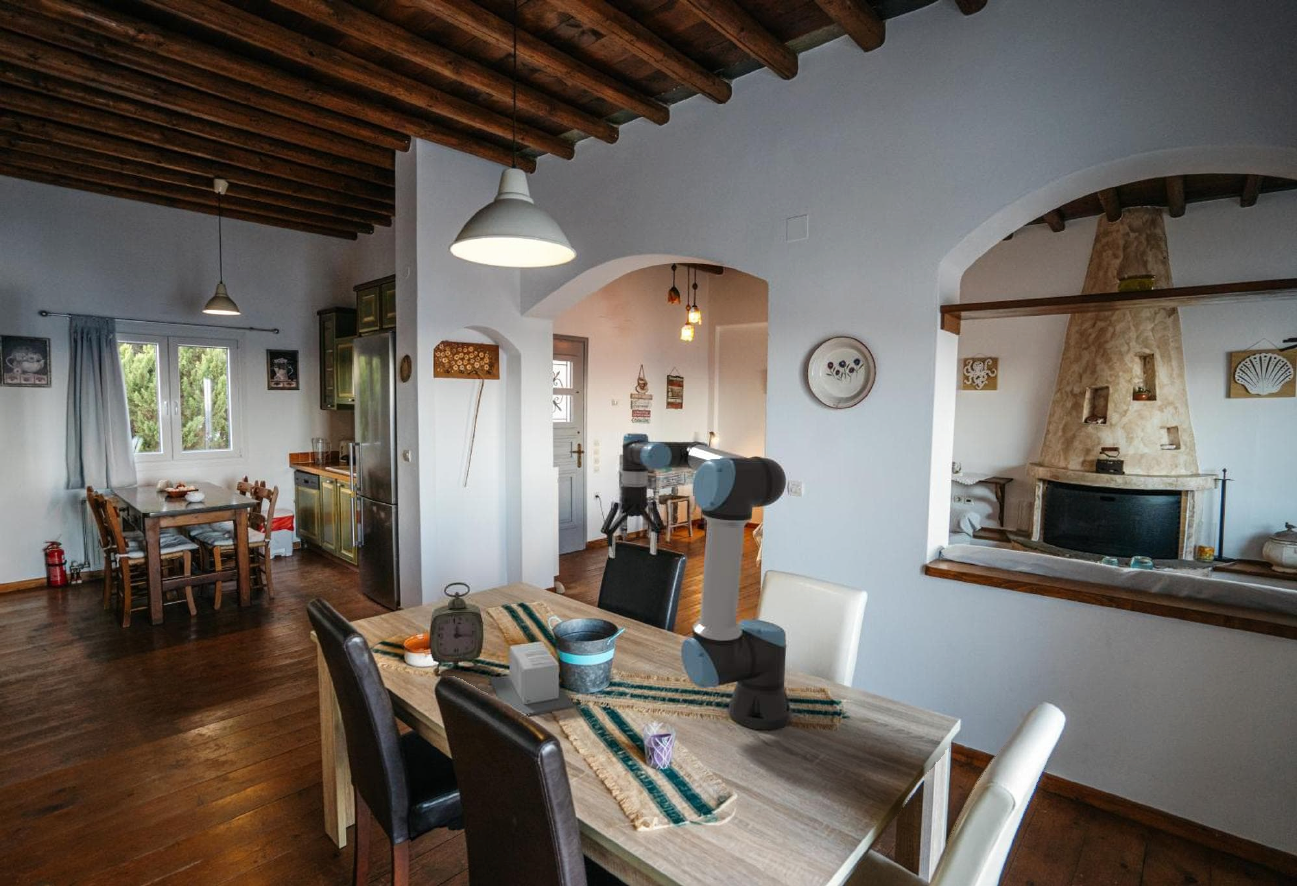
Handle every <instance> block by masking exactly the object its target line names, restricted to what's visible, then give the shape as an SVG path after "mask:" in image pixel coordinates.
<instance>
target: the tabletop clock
mask: <svg viewBox="0 0 1297 886" xmlns="http://www.w3.org/2000/svg"><path fill="white" fill-rule="evenodd" d="M457 585H458V586H459V585H461V586H465V588H467V592H464V593H461V594H460V592H458V591H456V592H455V593H454V594H451V593H450V594H449V593H447V589H449V588H450V587H452V586H457ZM470 591H471V589H470V586H469V585H468V584H467V583H465V582H460V581H459V582H457V581H456V582H452V583H449V584H447V585H446V586H445V587H444V590H443V592H444V595H446V596H447V597H448V598H451V599H450V600H449V602H448V604H447V605H443V606H442V605H441V606H438V607H436V608H435V609H433V611H432V613H431V618H430V625H429V626H430V627H429V649H430V651H429V652H430V655H431V658H432V660H433V662H436V663H438V664H437V666H436V667H435V668H434V669H433V673H434V674H435V675H438V674H439V673H440V666H441V664H447V663H448V664H452V666H454V667H457V666H459V663H462V662H468V661H471V663H472V664H473V665H472V669H473V670H474V671H477V670H478V669H479V667H480V666H479V664H478V663H476V661H475V659H477V658H479V657H480V656H481V654H482V652H483V651H482V650H483V647H484V638H485V637H484V636H485V635H484V623H483V618H482V614H481V613H482V612H481V610H480V607H479V606H478V605H476V604H470V603H466V600H465V599H464V598H462V597H464V596H467V595H468V594H469V593H470Z"/></svg>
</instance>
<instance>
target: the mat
mask: <svg viewBox="0 0 1297 886" xmlns="http://www.w3.org/2000/svg"><path fill="white" fill-rule="evenodd" d="M489 682H490V684H491V686H492V687H493V690H494V692H495V694H496V695H497V697H498V699H499V701H500V700H502V702H506V703H508V704H509V705H511V706H512V707H514V708H515V709H517V710H518V711H521V712H522V713H524V714H526V715H527V716H526V717H529V716H535V715H539V714H545V713H549V712H550V713H551V712H556V711H561V710H568V709H572V708H574V703H572V701H571V700H570V698H568V696H567V695H566V694H565V692H564V690H563V689H562V688H561V687H560V686H559V698H557V699H551V700H546V701H541V702H535V703H530V704H524V703H523V702H522V700H521V698H520V696H519V694H518V692H517V691H516V689H515V687H514V685H513V683H512V682H511V680H510V674H509V675H502V676H497V677H490V678H489ZM528 714H529V715H528Z"/></svg>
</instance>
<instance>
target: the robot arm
mask: <svg viewBox="0 0 1297 886" xmlns="http://www.w3.org/2000/svg"><path fill="white" fill-rule="evenodd" d="M622 440H623V441H622V447H621V448H622V471H621V474H622V477H621V484H623V485H622V486H621V502H619V501H618V502H617V501H615V500H614V501H611V504H610V505H611V506H610V510H609V512H608V514H607V516H606V518H605V520H604V522H603V525H602V526H601V528H600V533H602V534H604V535H606V546H607V547H608V557H609V558H612V559H615V558H616V535H614V534H615V533H616V532H617V530H618V529H619V528H620V527H621V525H622V523H624V521H625V520H626V519H628V517H630V518H632V517H633V518H634V517H642V519H644V521H645V522H646V524H648V527H650V529H651V530H652V531H650V547H649V548H650V550H649V553H650V554H651V555H655V556H656V555H657V544H659V543H660V534H661V533H662V532H663V531H666V526H665V524H664V521H663V520H662V517H661V514H660V512H659V509H658V507H657V501H656V500H653V499H650V500H647V498H648V486H647V485H648V469H650V470H662V469H671V468H672V469H674V468H675V469H677V468H681V469H682V468H683V469H684V468H687V469H690V470H693V471H696V473H695V474H694V477H693V482H692V497H693V496H694V503H695V505H696V506H697V507H698V508H699V509H700V510H701V512H700V513H701V516H702V517H703V518H704V520H705V521H706V522H707V523H706V535H705V536H706V537H705V548H704V559H703V561H704V562H703V574H702V576H703V577H702V586H701V587H702V588H701V599H700V600H701V601H700V614H699V619H698V620H697V621H695V622H694V623H693V626H692V631H691V632H692V633H691V634H692V635H691V636H687V637H686V638H685V639H684V640H683V641H682V644H681V646H680V647H681V648H680V655H681V656H680V657H681V661H682V665H683V668H684V671H685V673H686V675H687V677H688V678H689V680H690V681H691V682H692V683H693V685H695V686H696V687H698V688H701V689H707V688H718V686H722V685H728V684H732V683H736V685H735V687H734V689H733V693H732V696H731V699H729V704H728V715H729V717H730V718H731V720H732V721H734V722H735V723H737V724H738V725H741V726H743V727H745V728H749V729H755V730H763V731H774V730H778V729H782V728H784V727H787V726H788V725H789V724H790V722H791V715H792V714H791V713H792V709H791V705H790V703H789V699H788V696H787V695H788V694H787V692H786V688H785V683H786V682H785V676H786V675H785V674H786V659H787V658H786V653H787V640H786V637H787V636H786V631H785V629H784V628H782V627H781V626H779V625H778V624H775V623H773V622H769V621H766V620H761V619H754V618H744V619H741V620H740V621H739V622H738V623H737V618H738V609H739V608H738V607H739V596H740V595H739V593H740V583H741V570H742V560H743V558H742V557H743V548H744V547H743V546H744V537H745V536H744V533H745V526H746V524H747V523H748V522H750V521H751V520H752V517H753V510H754V509H753V508H760V507H761V508H762V507H768V506H770V505H772V504H774V503H775V502H777V501H778V500H779V499H780V498H781V497H782V495H783V494H784V492H785V490H786V486H787V477H786V473H785V471H784V469H783V467H782V466H781V465H780V464H779V463H778V462H777V461H775V460H774V459H771V458H768V457H762V456H758V455H757V456H750V457H747V456H743V455H739V454H735V453H732V452H728V451H725V450H721V449H719V448H715V447H710V446H709V445H708V443H706V442H704V441H703V442H702V441H650V440H649V435H647V434H646V433H638V432H637V433H633V432H632V433H630V432H629V433H625V434H624V435H623V439H622ZM647 507H648V508H649V510H650V512H651V514H652V517H653V518H654V520H653V519H652V518H651V516H650V515H649V513H648V512H647V510H646V509H647ZM620 508H621V509H622V510H621V511H620V513H619V514H618V516H617V517H616V515H617V513H618V510H620Z"/></svg>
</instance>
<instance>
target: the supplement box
mask: <svg viewBox="0 0 1297 886" xmlns="http://www.w3.org/2000/svg"><path fill="white" fill-rule="evenodd" d="M559 671H560V664H559V662H558V661H557V660H556V659H555V657H554V656H553V655H552V653H551V652H550V651H549V649H548V648H547V647H546V646H545V644H544V643H543V642H542V641H537V642H536V641H535V642H529V643H523V644H522V643H521V644H514V645H510V646H509V675H510V680H511V682H512V683H513V685H514V687H515V689H516V691H517V692H518V694H519V696H520V698H521V700H522V702H523V703H524V704H530V703H535V702H541V701H546V700H551V699H557V698H559V687H560V685H559V684H560V683H559V681H560V680H559V677H560V676H559V673H560V672H559Z"/></svg>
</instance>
